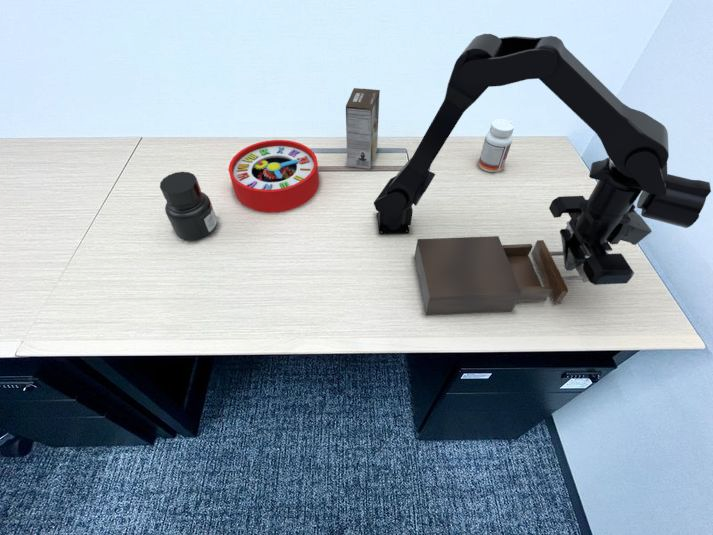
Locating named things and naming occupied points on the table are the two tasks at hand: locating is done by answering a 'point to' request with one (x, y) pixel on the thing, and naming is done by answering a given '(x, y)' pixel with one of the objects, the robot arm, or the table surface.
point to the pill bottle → (496, 145)
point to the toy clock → (274, 175)
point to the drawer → (546, 267)
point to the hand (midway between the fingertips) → (568, 269)
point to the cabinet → (465, 276)
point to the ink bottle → (188, 207)
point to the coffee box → (362, 127)
